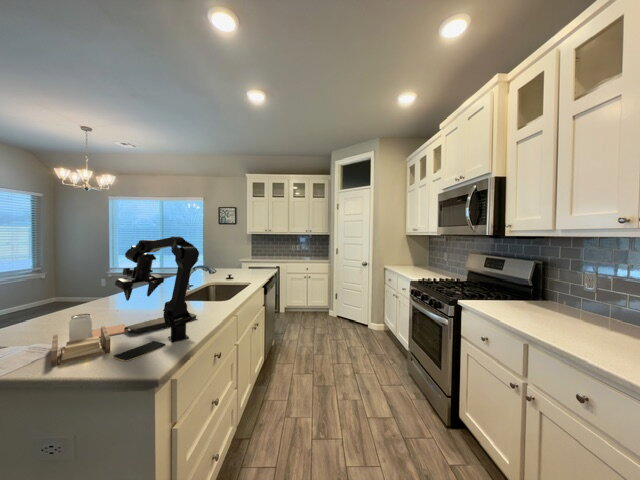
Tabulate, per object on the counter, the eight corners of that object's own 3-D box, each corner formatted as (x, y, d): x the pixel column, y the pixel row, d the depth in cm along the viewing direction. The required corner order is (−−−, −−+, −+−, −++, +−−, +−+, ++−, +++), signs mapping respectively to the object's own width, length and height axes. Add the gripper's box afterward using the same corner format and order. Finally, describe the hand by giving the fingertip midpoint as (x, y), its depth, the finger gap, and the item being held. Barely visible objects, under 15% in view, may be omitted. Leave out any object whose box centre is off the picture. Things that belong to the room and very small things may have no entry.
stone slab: (123, 324, 118) (188, 309, 142) (123, 331, 118) (188, 314, 142) (132, 330, 112) (199, 312, 136) (132, 337, 112) (199, 319, 136)
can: (74, 344, 103) (74, 314, 103) (94, 342, 105) (95, 312, 105) (65, 351, 97) (65, 319, 96) (87, 348, 99) (87, 317, 99)
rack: (110, 352, 96) (110, 339, 96) (51, 366, 86) (51, 351, 85) (104, 337, 110) (104, 325, 110) (53, 348, 99) (53, 335, 99)
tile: (128, 332, 116) (128, 330, 116) (93, 339, 108) (93, 337, 108) (124, 325, 125) (124, 324, 125) (91, 331, 116) (91, 330, 116)
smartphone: (166, 343, 103) (125, 359, 89) (166, 346, 103) (125, 363, 89) (153, 340, 106) (112, 355, 92) (153, 343, 106) (112, 358, 92)
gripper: (153, 259, 131) (147, 288, 133) (110, 262, 114) (104, 295, 115) (167, 266, 126) (161, 296, 128) (126, 271, 109) (119, 305, 111)
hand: (137, 298), depth 121 cm, fingers open, 9 cm apart
